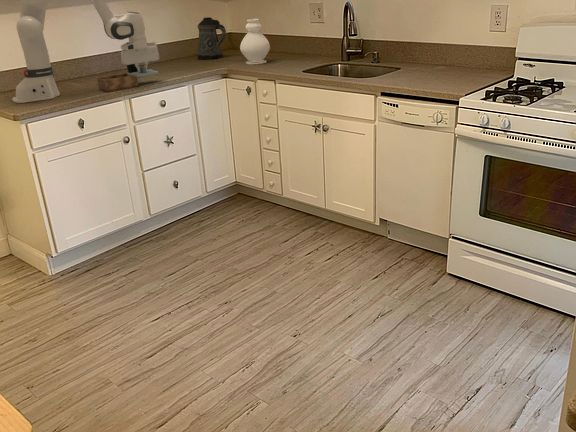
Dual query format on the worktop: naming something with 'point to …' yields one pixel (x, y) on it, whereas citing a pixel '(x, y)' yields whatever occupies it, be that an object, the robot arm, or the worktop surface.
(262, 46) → the decorative vase
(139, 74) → the cover plate
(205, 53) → the beer stein
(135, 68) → the cup
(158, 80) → the worktop surface
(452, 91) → the worktop surface
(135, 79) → the walnut box
